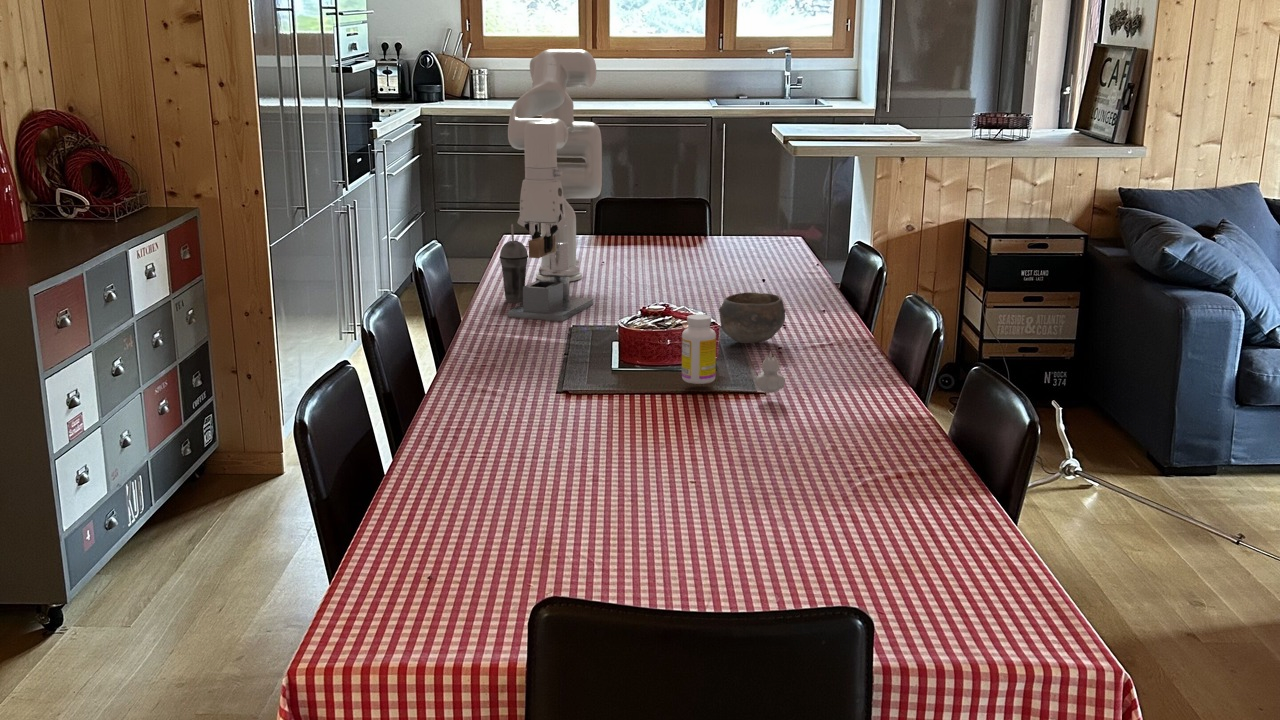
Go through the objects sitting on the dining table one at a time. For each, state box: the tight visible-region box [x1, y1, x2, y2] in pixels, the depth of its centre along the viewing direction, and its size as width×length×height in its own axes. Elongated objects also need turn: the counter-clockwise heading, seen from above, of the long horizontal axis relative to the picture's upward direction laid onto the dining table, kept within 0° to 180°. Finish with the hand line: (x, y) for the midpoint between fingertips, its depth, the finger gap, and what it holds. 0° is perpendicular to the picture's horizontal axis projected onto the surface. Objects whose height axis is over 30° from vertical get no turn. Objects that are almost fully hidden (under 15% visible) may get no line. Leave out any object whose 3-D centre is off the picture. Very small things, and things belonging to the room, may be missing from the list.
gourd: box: [755, 350, 786, 394], centre depth 231 cm, size 5×7×8 cm
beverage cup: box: [499, 223, 529, 304], centre depth 307 cm, size 7×7×20 cm
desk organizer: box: [507, 242, 594, 323], centre depth 297 cm, size 20×14×16 cm
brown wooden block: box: [528, 235, 556, 259], centre depth 290 cm, size 4×2×10 cm
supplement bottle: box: [681, 313, 717, 385], centre depth 238 cm, size 7×7×13 cm
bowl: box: [718, 291, 786, 344], centre depth 269 cm, size 14×15×10 cm
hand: (542, 251), depth 291 cm, fingers closed on brown wooden block, 2 cm apart
